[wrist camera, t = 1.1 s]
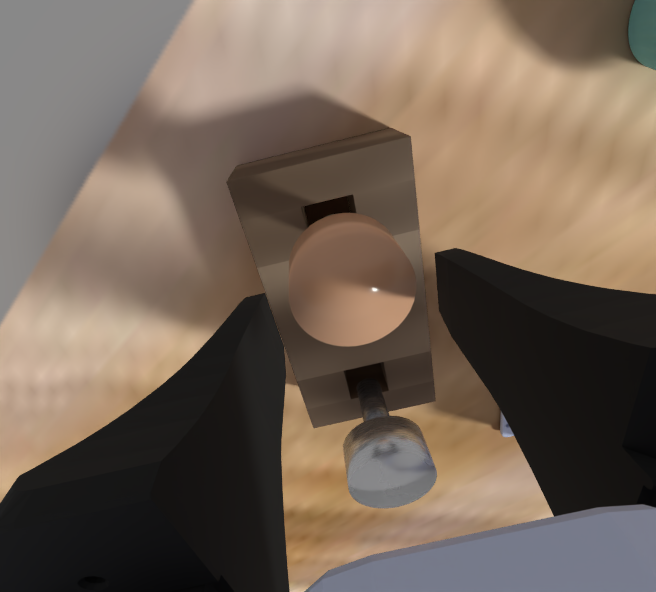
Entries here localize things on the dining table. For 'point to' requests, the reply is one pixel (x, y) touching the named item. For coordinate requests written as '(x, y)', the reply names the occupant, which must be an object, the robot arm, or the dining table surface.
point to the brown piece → (291, 221)
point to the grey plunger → (386, 454)
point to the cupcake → (643, 32)
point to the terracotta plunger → (349, 280)
